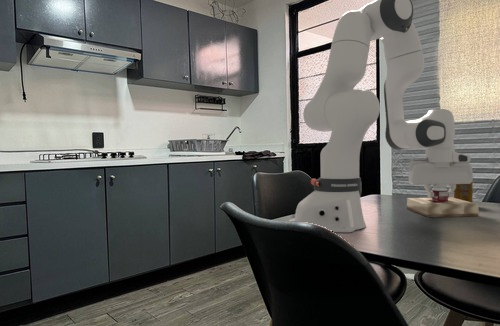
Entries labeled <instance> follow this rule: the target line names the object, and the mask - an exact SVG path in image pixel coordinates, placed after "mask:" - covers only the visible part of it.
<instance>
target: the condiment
mask: <svg viewBox="0 0 500 326" xmlns="http://www.w3.org/2000/svg"><path fill="white" fill-rule="evenodd" d="M473 184H474V183H473V181H472V182H471V183H470V184H456V189H455V190H454V192H453V198H456V199H460V200H464V201H468V202H471V203H473V194H474V193H473V192H474V191H473V187H474V186H473Z"/></svg>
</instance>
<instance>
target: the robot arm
mask: <svg viewBox="0 0 500 326" xmlns="http://www.w3.org/2000/svg"><path fill="white" fill-rule="evenodd" d="M413 18H414V5H413V2H412V0H373V1H371V2H369V3H367V4H366V5H364V6H363V7H360V9H358V10H350V11H347V12H345V13H343V14H342V15H341V16H340V17H339V20H338V22H337V25H336V27H335V30H334V33H333V37H332V41H331V47H330V51H329V57H328V61H327V65H326V69H325V72H324V75H323V78H322V80H321V82H320V85H319V87H318V88H317V90H316V92H315V94H314V95H313V97H312V98H311V99H310V101H308V102H307V103H306V105H305V107H304V108H303V114H302V115H303V120H304V123H305V125H306V126H307V127H308V128H309V129H311V130H313V131H317V132H322V133H323V132H324V133H325V132H331V135H330V137H329V140H328V142H327V143H326V145H325V146H324V147H323V148H322V149H321V151H320V155H319V156H320V177H318V178H317V179H316V178H311V180H310V184H311V185H312V186H313V189H314V190H313V191H312V192H311V193H310V194H308V195H307V196H306V197H304V198H303V199H302V200H301V201H299V202H298V204H297V206H296V209H295V217H293V218H290V219H289V220H288V221H298V222H308V223H313V224H317V225H320V226H323V227H326V228H327V229H329V230H332V231H333V232H332V233H353V232H354V231H357V230H360V229H363V228H366V227H367V225H366V221H365V218H364V214H363V213H364V212H363V209H362V201H361V197H362V178H361V177H360V155H361V154H360V153H361V148H362V143H363V141H364V139H365V135H366V134H367V132H368V130H369V128H371V126H372V125H374V123H376V121H377V120H378V118H379V116H380V113H381V112H380V110H381V106H380V105H381V104H380V101H379V99H378V97H377V95H376V94H375V93H374V92H373V91H371V90H367V89H354V88H355V87H356V86H357V85H359V83H360V82H361V81H362V80H363V78H364V76H365V75H366V71H367V65H368V59H369V52H370V48H371V47H370V46H371V42H373V41H375V40H379V39H380V41H381V43H382V45H383V51H384V52H383V53H384V57H385V63H386V79H385V80H384V85H383V96H384V97H383V98H384V110H385V121H386V123H385V133H384V134H385V140H386V142H387V144H388V146H389V147H390V148H392V150H395V151H396V150H397V151H401V150H407V149H425V157H414V158H411V160H409V161H408V169H409V170H408V183H409V184H410V185H413V186H422V185H423V187H424V190H425V191H426V193H427V198H434V193H433V192H432V189H431V188H432V186H433V185H435V184H440V183H446V184H447V185H448V188H449V189H448V197H452V198H454V190H455V189H456V184H470V183H471V182H473V180H474V175H473V172H474V171H473V166H472V164H471V163H470V162H471V156H470V155H468V154H465V153H461V152H456V147H455V144H454V140H455V136H456V126H455V119H454V115H453V112H452V111H450V110H448V109H444V108H434V109H429V110H428V111H427V112H426V114H424V115H423V116H422V117H419V118H418V119H412V120H411V119H410V120H406V119H405V113H404V101H403V97H404V93H405V91H406V90H407V89H408V87H409V86H411V85H412V84H414V83H415V82H416V81H417V80H418V79H419V78H420V77H421V75H422V74H423V72H424V69H425V65H426V64H425V56H424V51H423V47H422V42H421V38H420V35H419V33H418V29H416V26H415V24H414V22H413Z"/></svg>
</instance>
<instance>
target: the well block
mask: <svg viewBox="0 0 500 326" xmlns="http://www.w3.org/2000/svg"><path fill="white" fill-rule="evenodd" d="M479 207H480V205H479V203H475V202H472V203H471V202H468V201H464V200H460V199H456V198H454V197H448V203H434V202H432V198H428V197H407V198H406V209H407V210H410V211H412V212H415V213H416V214H419V215H422V216H424V217H427V218H439V217H441V218H444V217H445V218H447V217H448V218H449V217H479V214H480V213H479Z"/></svg>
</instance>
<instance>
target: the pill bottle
mask: <svg viewBox="0 0 500 326" xmlns="http://www.w3.org/2000/svg"><path fill="white" fill-rule="evenodd" d="M447 186H448V184H446V183H440V184H435V185H432V187H433V188H432V189H431V192H433V193H434V198H432V202H434V203H448V191H449V189H448V188H447Z"/></svg>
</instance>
